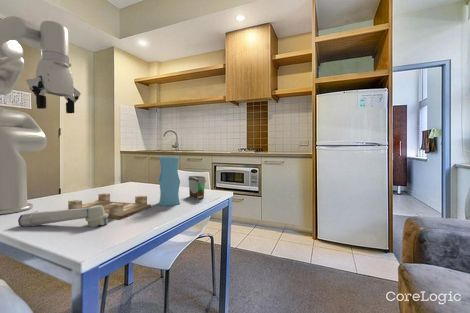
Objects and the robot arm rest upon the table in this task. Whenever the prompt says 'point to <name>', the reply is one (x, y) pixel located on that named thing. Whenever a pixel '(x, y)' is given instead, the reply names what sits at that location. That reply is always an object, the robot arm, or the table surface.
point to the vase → (169, 181)
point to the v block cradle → (113, 206)
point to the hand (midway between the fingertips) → (56, 110)
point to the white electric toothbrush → (66, 216)
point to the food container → (196, 187)
